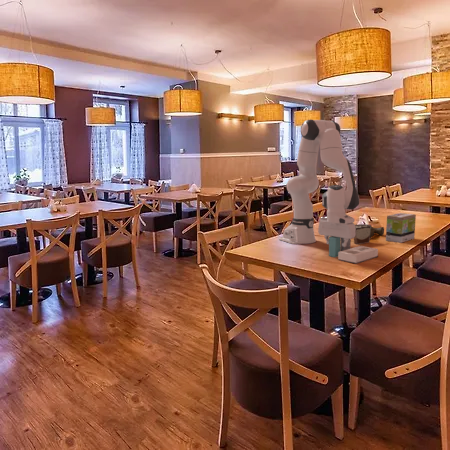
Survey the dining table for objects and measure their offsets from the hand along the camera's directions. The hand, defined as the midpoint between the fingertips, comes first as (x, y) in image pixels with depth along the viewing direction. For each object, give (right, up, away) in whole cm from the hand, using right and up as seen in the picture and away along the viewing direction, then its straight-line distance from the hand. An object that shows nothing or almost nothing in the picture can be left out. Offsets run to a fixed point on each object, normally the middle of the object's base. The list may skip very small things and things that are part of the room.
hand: (336, 245), depth 209 cm
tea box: (+45, +1, +31) cm, 55 cm away
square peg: (-1, -6, +1) cm, 6 cm away
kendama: (+34, +3, +44) cm, 56 cm away
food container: (+21, 0, +29) cm, 35 cm away
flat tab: (+7, -4, +7) cm, 10 cm away
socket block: (+9, -6, -5) cm, 12 cm away
